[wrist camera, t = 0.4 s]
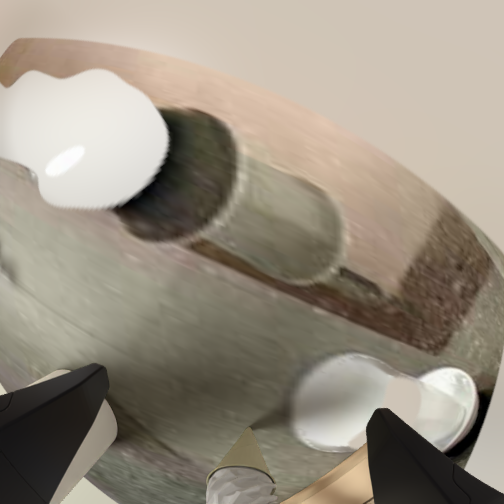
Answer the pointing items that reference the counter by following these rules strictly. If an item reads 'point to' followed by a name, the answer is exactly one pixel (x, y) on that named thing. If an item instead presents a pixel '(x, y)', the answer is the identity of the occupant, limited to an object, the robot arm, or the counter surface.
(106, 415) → the tall pillar cylinder
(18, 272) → the counter surface
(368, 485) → the floor strip
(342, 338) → the counter surface
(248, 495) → the ice cream cone
